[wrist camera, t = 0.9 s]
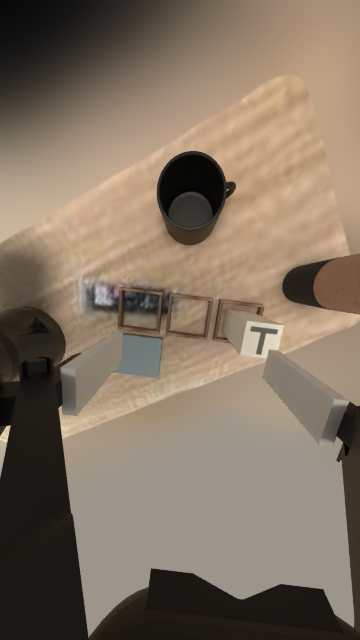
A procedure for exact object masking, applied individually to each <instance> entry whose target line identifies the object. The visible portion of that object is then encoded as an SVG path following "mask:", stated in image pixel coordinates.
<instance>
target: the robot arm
mask: <svg viewBox="0 0 360 640" xmlns="http://www.w3.org/2000/svg"><path fill="white" fill-rule="evenodd" d="M122 344H123V333H121V332H113V333H112V334H110V335H109V336H107V337H106V338H104V339H103V340H101V341H100V342H98V343H97V344H95V345H94V346H92V347H91V348H89V349H88V350H86V351H85V352H83V353H78V354H75V355H73V356H71V357H69V358H68V359H67V360H65V361H63V362H62V363H60V364H59V362H60V361H61V360H62V358H63V355H64V351H65V340H64V336H63V333H62V331H61V329H60V327H59V326H58V324H57V323H56V322H55V321H54V320H53V319H52V318H51V317H50V316H49V315H47V314H46V313H44V312H42V311H40V310H37V309H34V308H28V307H23V308H15V309H9V310H6V311H3V312H1V313H0V436H1V434H2V432H3V431H4V429H5V428H6V426H9V425H11V427H10V432H9V437H8V442H7V447H6V452H5V457H4V462H3V467H2V472H1V477H0V640H360V406H356V405H354V404H353V403H351V402H350V401H349V400H347V399H346V398H344V397H343V396H342V395H340V394H339V393H337V392H336V391H335V390H333V389H331V388H330V387H329V386H327V385H326V384H325V383H323V382H322V381H320V380H319V379H317V378H316V377H315V376H313V375H312V374H310V373H309V372H308V371H306V370H305V369H303V368H302V367H300V366H299V365H298V364H296V363H295V362H293V361H292V360H290V359H289V358H288V357H286V356H285V355H283V354H282V353H281V352H279V351H278V350H270V349H269V352H268V356H267V360H266V365H265V369H264V373H263V378H264V380H265V381H266V382H267V383H268V384H269V386H270V387H271V388H272V389H273V390H274V392H275V393H276V394H277V395H278V396H279V398H280V399H281V400H282V401H283V402H284V403H285V404H286V406H287V407H288V408H289V409H290V411H291V412H292V413H293V414H294V415H295V417H296V418H297V419H298V420H299V421H300V422H301V424H302V425H303V426H304V427H305V428H306V430H307V431H308V432H309V433H310V434H311V436H312V437H313V438H314V439H315V440H316V441H317V443H318V444H321V445H330V446H333V445H334V442H335V439H336V436H337V437H338V438H340V439H341V441H342V442H343V445H342V447H341V450H340V453H339V455H338V458H337V461H338V462H340V460H342V469H343V480H344V494H345V506H346V518H347V530H348V542H349V555H350V568H351V580H352V592H353V605H354V628H353V627H352V626H350V625H349V624H347V623H346V622H345V621H343V620H342V619H340V618H339V617H337V616H336V615H335V614H334V612H333V610H332V608H331V606H330V604H329V601H328V599H327V597H326V595H325V592H324V590H323V589H317V588H308V587H299V586H292V585H284V584H280V585H278V586H275V587H273V588H270V589H268V590H266V591H263V592H261V593H258V594H256V595H253V596H251V597H248V598H246V599H243V600H242V599H237V598H235V597H233V596H232V595H229V594H228V593H226V592H224V591H223V590H221V589H219V588H217V587H216V586H214V585H212V584H210V583H209V582H207V581H205V580H203V579H202V578H200V577H198V576H196V575H195V574H193V573H184V572H176V571H168V570H160V569H151V573H150V581H149V587H147V588H145V589H142V590H140V591H137V592H136V593H134V594H132V595H130V596H129V597H127V598H126V599H124V600H123V601H122V602H121V603H119V604H118V605H117V606H116V607H115V608H114V609H113V610H112V611H111V612H110V613H109V614H108V615H107V616H106V617H105V618H104V619H103V620H102V621H101V623H100V624H99V625H98V627H97V628H96V629H95V630H94V632H93V633H92V634H91V635H90V637H89V638H88V631H87V623H86V615H85V607H84V599H83V592H82V583H81V575H80V567H79V559H78V552H77V544H76V536H75V528H74V521H73V516H72V514H71V509H70V501H69V493H68V485H67V477H66V468H65V460H64V451H63V443H62V434H61V426H60V418H59V409H58V408H59V407H60V406H61V405H62V414H65V415H74V416H77V415H78V413H79V412H80V411H81V410H82V408H83V407H84V406H85V405H86V404H87V402H88V401H89V400H90V399H91V398H92V396H93V395H94V394H95V393H96V392H97V390H98V389H99V388H100V387H101V386H102V384H103V383H104V382H105V381H106V380H107V378H108V377H109V376H110V375H111V373H112V372H113V371H114V370H115V369H116V367H117V366H118V365H119V364H120V363H121V361H122ZM18 380H20V381H18ZM148 588H149V589H148ZM147 597H148V598H147Z"/></svg>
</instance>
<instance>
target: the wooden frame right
mask: <svg viewBox="0 0 360 640" xmlns="http://www.w3.org/2000/svg"><path fill="white" fill-rule="evenodd" d="M223 303H230V304H238V305H246V306H254V307H258V310H257V315H260V316H262V315H263V310H264V306H265V305H262V304H254V303H246V302H238V301H230V300H222V299H219V305H218V311H217V317H216V323H215V329H214V335H213V340H214V341H217V342H225V343H230V341H229V340H228V339H227V338H220V337H217V335H218V329H219V323H220V318H221V312H222V306H223Z"/></svg>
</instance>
